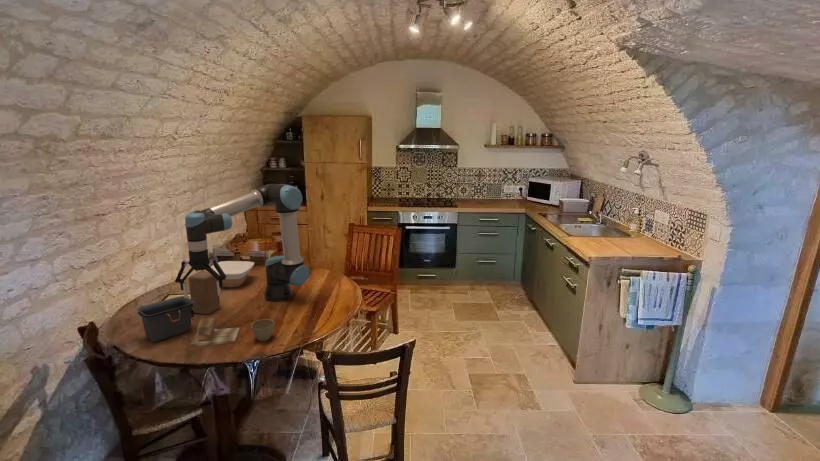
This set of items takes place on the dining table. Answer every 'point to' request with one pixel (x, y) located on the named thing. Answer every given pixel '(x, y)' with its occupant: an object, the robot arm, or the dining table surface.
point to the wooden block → (204, 292)
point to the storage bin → (166, 317)
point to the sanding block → (205, 329)
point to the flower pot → (263, 329)
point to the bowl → (234, 272)
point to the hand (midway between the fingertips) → (202, 295)
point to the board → (218, 337)
